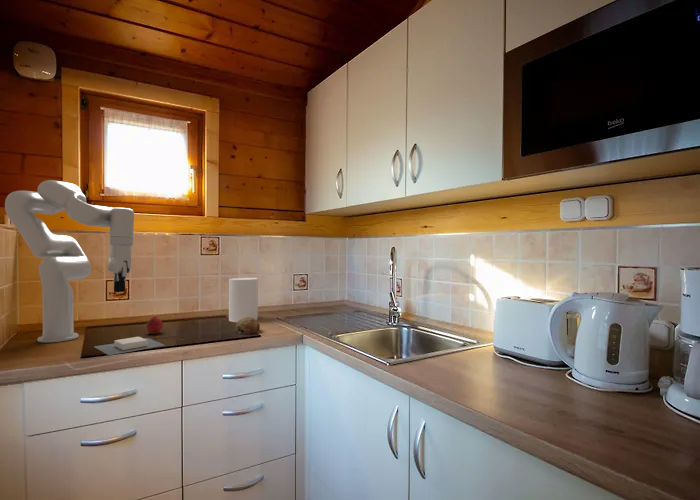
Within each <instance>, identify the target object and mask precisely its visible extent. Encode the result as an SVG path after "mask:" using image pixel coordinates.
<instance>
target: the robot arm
mask: <svg viewBox="0 0 700 500" xmlns="http://www.w3.org/2000/svg"><path fill="white" fill-rule="evenodd" d="M4 201H5V202H4V209H5V213H6V216H7V217H8V219H9V220H10V222H11V224H13V226H14V225H15V226H14V227H15V228H16V229H17V230H18V232H19V233H20V235H21V236H22V238H23V240H24V242H25V243H26V245H27V246H28V248H29V249H30V251H31V253H32V255H34V256H35V257H36V258H37V259H38V258H39V259H43V260H42V261H41V262H40V264H39V265H38V273H39V277H40V282H41V289H42V335H41V336H39V337H38V338H37V342H39V343H43V344H44V343H46V344H47V343H48V344H49V343H59V342H60V343H61V342H67V341H71V340H75V339H77V338H79V333H77V332H75V330H74V329H75V327H74V326H75V325H74V316H75V315H74V306H75V305H74V289H73V288H72V286H71V284H70V283H69V281H76V280H83V279H85V278H87V277H88V276H90V274H91V271H92V265H91V261H90V260H89V258H88V257H87V254H86V253H85V252H84V250H83V249H82V247H81V246H80V244H79V243H78V241H77V240H76V239H75V238H74V237H72V236H71V235H68V234H56V233H53V232H52V231H51V230H50V229H49V228H48V226H47V224H46V223H45V222H44V221H43V220H42V219H41V218H39V217H38V216H36V215H35V214H37V215H56V214H59V213H60V212H63V211H65V213H66V214H67V216H68V217H69V218H70V219H71V220H74V221H75V222H78V223H79V224H81V225H84V226H88V227H101V228H102V227H103V228H109V241H108V243H109V244H108V245H109V246H110V247H109V253H108V263H107V271H109V273H113V274H112V275H113V280H114V281H113V292H115V293H124V292H125V291H126V279H127V277H128V274H129V273H131V268H132V249H131V248H132V247H133V246H134V229H135V227H134V226H135V225H134V221H135V211H134V210H133V209H131V208H129V207H127V208H126V207H112V206H110V207H109V206H103V205H93V204H89V203H87V198H86V195H85V194H84V193H83V192H82V189H81V188H80V187H79V185H76V184H74V183H71V182H67V181H59V180H52V179H48V180H44V181H42V182H40V183H39V185H38V186H37V191H31V190H16V191H12V192H11V193H9V194H8V195H7V196H6V198H5V200H4Z"/></svg>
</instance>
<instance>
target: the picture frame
mask: <svg viewBox="0 0 700 500" xmlns="http://www.w3.org/2000/svg"><path fill="white" fill-rule="evenodd" d="M114 346H115V347H117V348H119V349H121V350H127V349H132V348H138V347H144V346H148V340H146V339H144V338H143V337H141V336H133V337H127V338H122V339H115V340H114Z"/></svg>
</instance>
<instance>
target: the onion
mask: <svg viewBox="0 0 700 500" xmlns="http://www.w3.org/2000/svg"><path fill="white" fill-rule="evenodd" d="M163 324H164V323H163V321H162V320H161V319H160V318H159V317H158V315H157V314H154V315H153V316H152V317H151V318H150V319H149V320H148V321H147V323H146V330H147V332H149V333H150V334H151V335H156V334H158V333H160V332H161V331H162V329H163V326H164V325H163Z"/></svg>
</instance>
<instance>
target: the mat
mask: <svg viewBox="0 0 700 500" xmlns="http://www.w3.org/2000/svg"><path fill="white" fill-rule="evenodd" d="M143 339H146V340H148V346H144V347H138V348H132V349H127V350H121V349H119V348H117V347H115V346H114V343H108V344H102V345H97V346H96V345H95V346H93V348H95V349H96V350H99V351H100V352H102V353H104V354H106V355H107V356H114V355H118V354H125V353H130V352H136V351H141V350H147V349H153V348H158V347H165V344H164V343H162V342H158V341H156V340H154V339H152V338H148V337H146V338H143Z"/></svg>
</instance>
